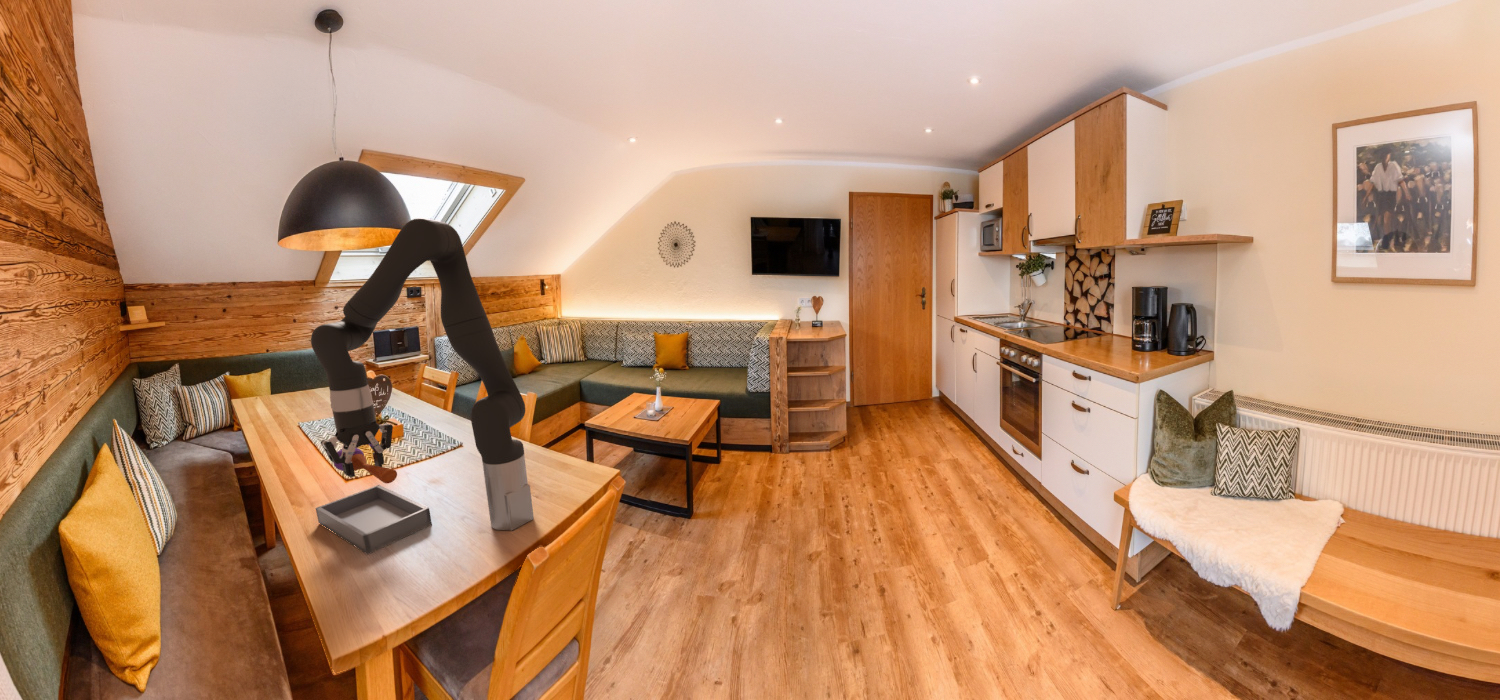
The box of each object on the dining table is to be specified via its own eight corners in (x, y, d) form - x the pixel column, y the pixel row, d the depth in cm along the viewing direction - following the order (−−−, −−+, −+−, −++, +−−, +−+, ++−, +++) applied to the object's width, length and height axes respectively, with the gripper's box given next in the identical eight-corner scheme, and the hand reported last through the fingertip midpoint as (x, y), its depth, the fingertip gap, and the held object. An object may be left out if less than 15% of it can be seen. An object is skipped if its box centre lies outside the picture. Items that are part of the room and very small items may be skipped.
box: (431, 524, 118) (429, 508, 117) (367, 554, 106) (363, 536, 105) (381, 499, 130) (378, 484, 129) (319, 524, 119) (315, 508, 118)
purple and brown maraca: (371, 473, 108) (324, 452, 116) (380, 494, 110) (333, 472, 118) (398, 458, 112) (351, 440, 120) (406, 479, 115) (359, 459, 123)
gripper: (321, 416, 104) (336, 487, 108) (394, 399, 116) (406, 463, 120) (307, 411, 108) (322, 480, 111) (380, 395, 120) (391, 457, 123)
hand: (365, 471), depth 115 cm, fingers closed on purple and brown maraca, 5 cm apart
